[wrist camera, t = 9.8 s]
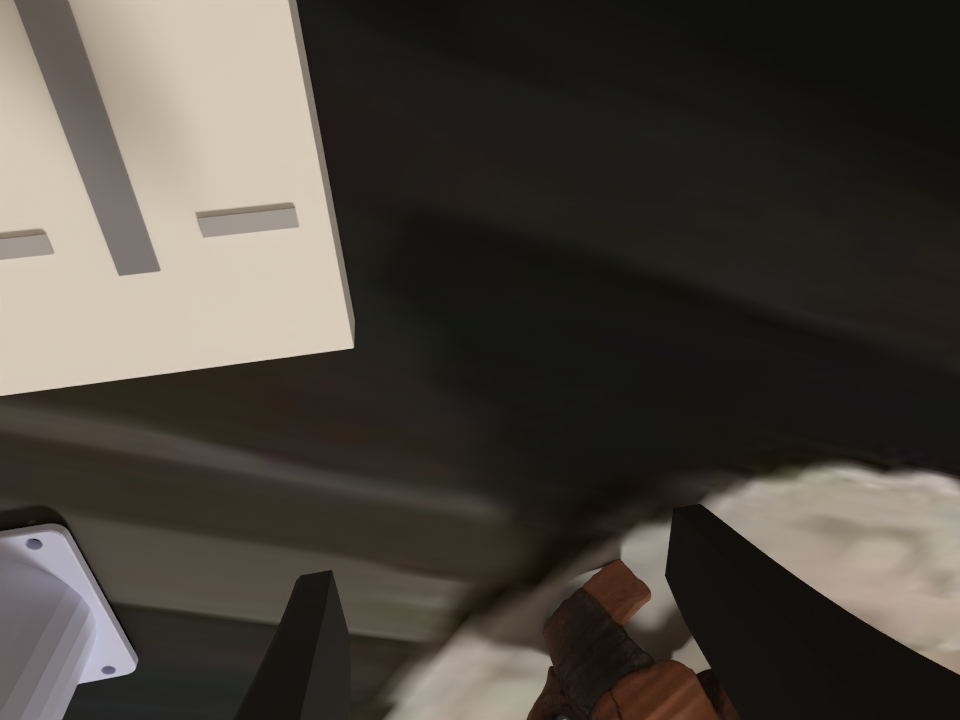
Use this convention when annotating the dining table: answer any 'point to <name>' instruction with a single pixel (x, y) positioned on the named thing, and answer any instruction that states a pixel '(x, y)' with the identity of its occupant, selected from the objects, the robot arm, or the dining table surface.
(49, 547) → the robot arm
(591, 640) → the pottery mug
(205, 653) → the dining table surface
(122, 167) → the console board
